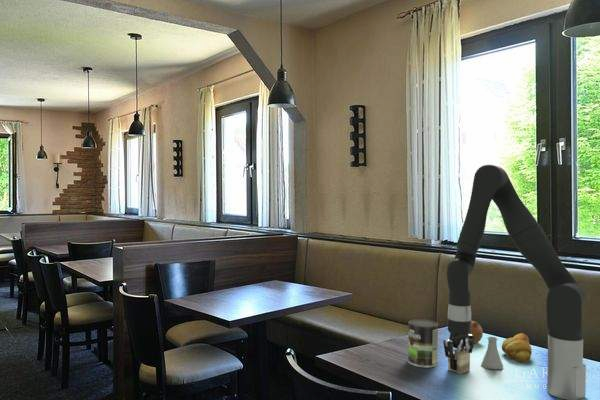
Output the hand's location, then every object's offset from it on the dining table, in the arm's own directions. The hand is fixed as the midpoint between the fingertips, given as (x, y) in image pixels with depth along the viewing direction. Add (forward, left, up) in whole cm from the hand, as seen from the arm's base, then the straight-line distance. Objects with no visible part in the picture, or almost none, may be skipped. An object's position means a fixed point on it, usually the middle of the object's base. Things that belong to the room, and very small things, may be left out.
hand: (458, 367), depth 164 cm
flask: (-4, -13, -1) cm, 14 cm away
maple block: (0, 0, -1) cm, 1 cm away
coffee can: (+12, +4, -1) cm, 13 cm away
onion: (+17, -30, -1) cm, 35 cm away
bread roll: (-4, -29, -1) cm, 29 cm away
